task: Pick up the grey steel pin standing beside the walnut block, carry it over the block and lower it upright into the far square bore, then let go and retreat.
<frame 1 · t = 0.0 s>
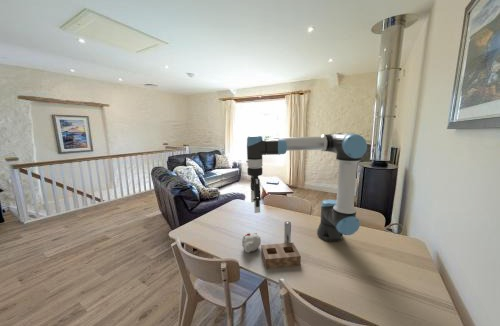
hand: (255, 207, 105), 28 cm above the table, fingers open, 13 cm apart
white lumpy figurine: (251, 248, 117), on the table
pin: (287, 246, 118), on the table
bore block: (280, 258, 107), on the table
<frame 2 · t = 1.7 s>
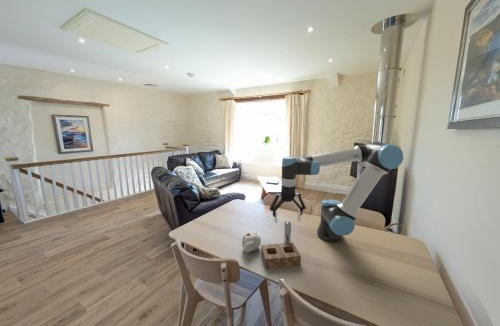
hand: (287, 221, 115), 16 cm above the table, fingers open, 13 cm apart
nothing on the table moved.
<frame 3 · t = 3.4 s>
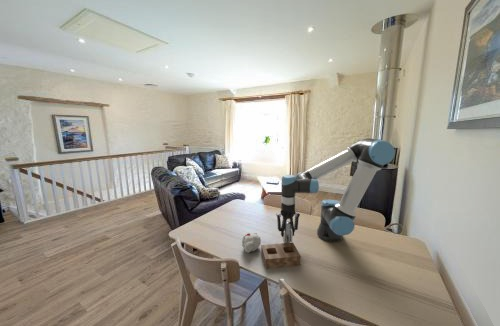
hand: (287, 241, 117), 4 cm above the table, fingers closed on pin, 3 cm apart
pin: (287, 246, 118), on the table, touching gripper
everything else where it was.
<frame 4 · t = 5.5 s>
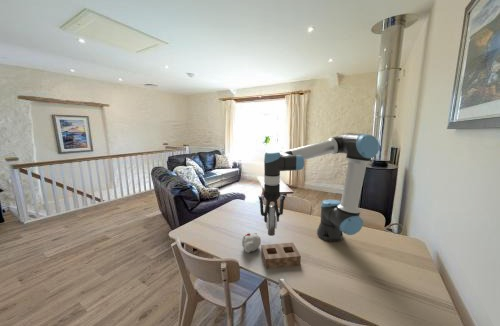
hand: (271, 227, 103), 18 cm above the table, fingers closed on pin, 3 cm apart
pin: (271, 233, 104), point 15 cm above the table, touching gripper
everything else where it was.
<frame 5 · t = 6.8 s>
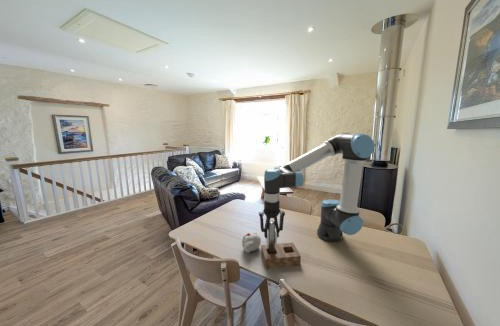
hand: (271, 242, 105), 10 cm above the table, fingers closed on pin, 3 cm apart
pin: (271, 249, 105), point 6 cm above the table, touching gripper
everything else where it was.
when the fingers open (7 cm above the table, at t = 7.6 s): pin drops 1 cm, resting on bore block.
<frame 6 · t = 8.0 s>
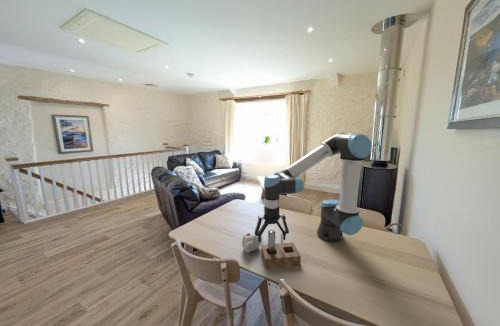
hand: (271, 246, 105), 8 cm above the table, fingers open, 10 cm apart
pin: (271, 257, 106), point 1 cm above the table, touching bore block
everything else where it was.
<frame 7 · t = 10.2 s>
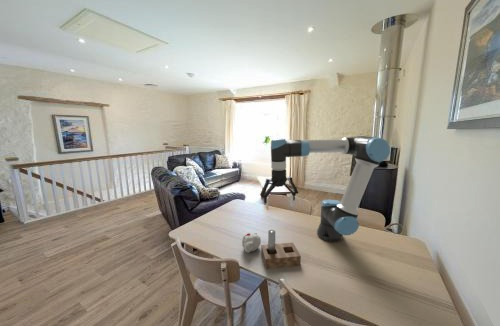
hand: (279, 207, 109), 26 cm above the table, fingers open, 13 cm apart
nothing on the table moved.
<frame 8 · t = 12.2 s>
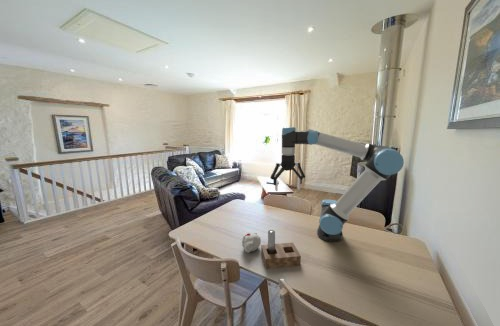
hand: (287, 189, 120), 32 cm above the table, fingers open, 13 cm apart
nothing on the table moved.
at the end: pin 0.1 cm from the target spot on the bore block, point 1.0 cm above the bore block's base; pin tilted 1°; the gripper is holding nothing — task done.
